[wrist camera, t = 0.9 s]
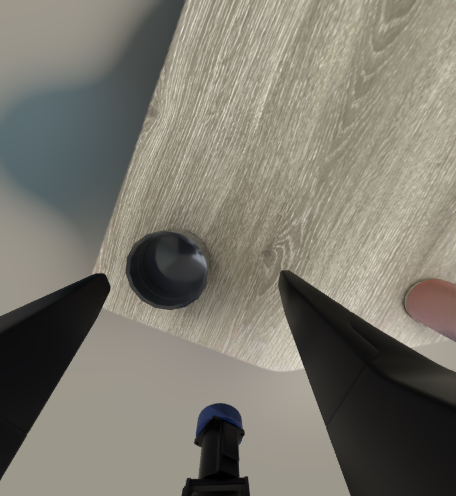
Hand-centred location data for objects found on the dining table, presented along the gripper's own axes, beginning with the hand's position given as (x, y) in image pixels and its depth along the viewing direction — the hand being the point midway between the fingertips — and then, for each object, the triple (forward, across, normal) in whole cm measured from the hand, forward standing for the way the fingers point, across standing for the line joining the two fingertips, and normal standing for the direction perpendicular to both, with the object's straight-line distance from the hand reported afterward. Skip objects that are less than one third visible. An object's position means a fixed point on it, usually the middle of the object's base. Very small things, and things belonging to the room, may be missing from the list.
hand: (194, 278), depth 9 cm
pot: (+11, +4, +6) cm, 14 cm away
